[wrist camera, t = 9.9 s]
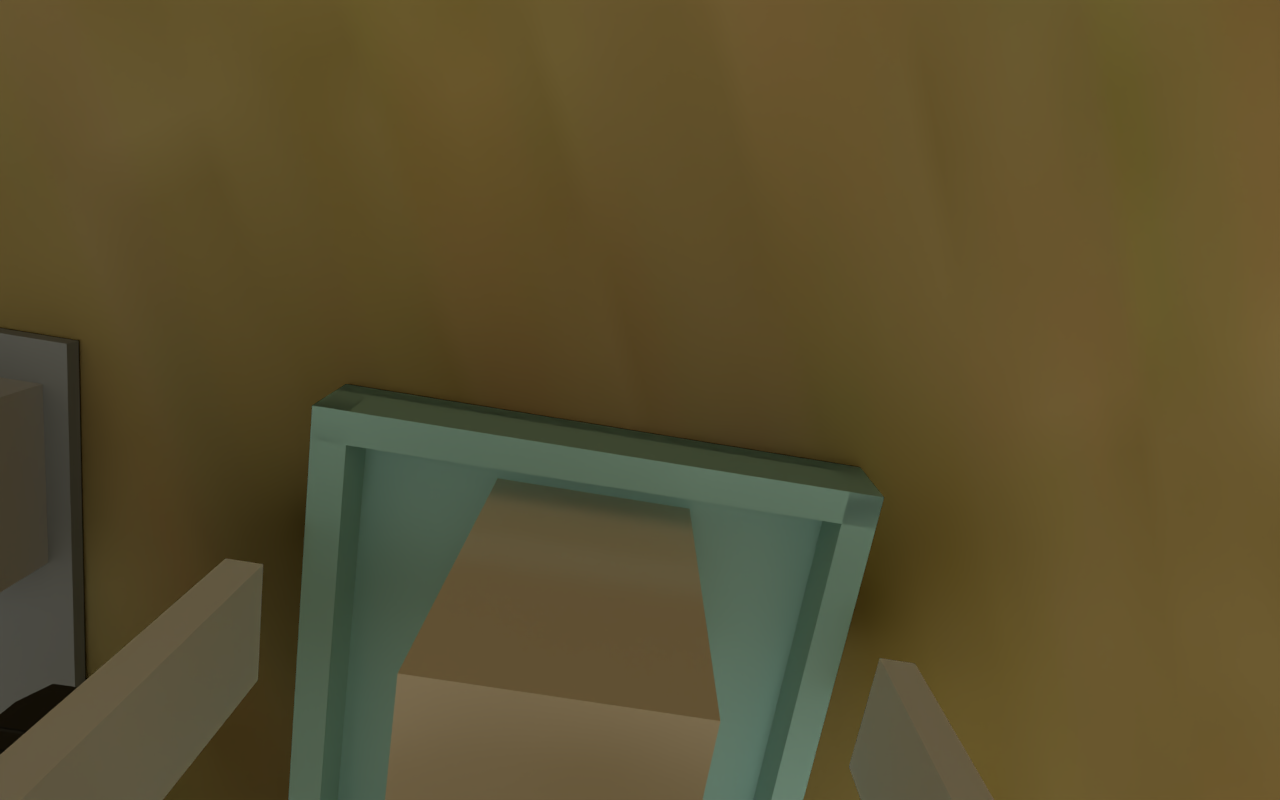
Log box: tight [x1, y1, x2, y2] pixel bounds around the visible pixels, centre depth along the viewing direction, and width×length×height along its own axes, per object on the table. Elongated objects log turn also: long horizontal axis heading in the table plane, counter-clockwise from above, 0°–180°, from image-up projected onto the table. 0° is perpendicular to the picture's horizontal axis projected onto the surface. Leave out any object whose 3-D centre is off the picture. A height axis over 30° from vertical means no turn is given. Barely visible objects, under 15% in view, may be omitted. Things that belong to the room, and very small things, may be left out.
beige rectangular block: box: [385, 478, 720, 800], centre depth 16 cm, size 5×5×8 cm
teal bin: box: [288, 384, 884, 800], centre depth 20 cm, size 13×14×2 cm
